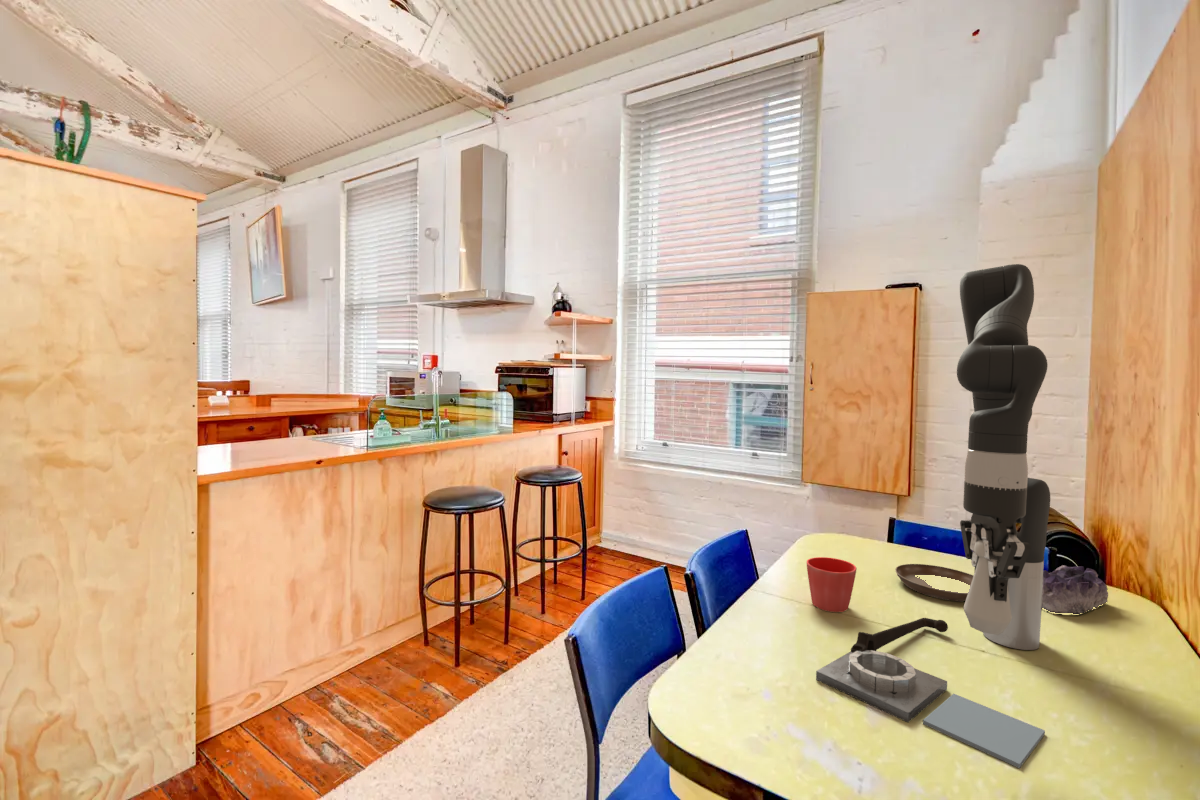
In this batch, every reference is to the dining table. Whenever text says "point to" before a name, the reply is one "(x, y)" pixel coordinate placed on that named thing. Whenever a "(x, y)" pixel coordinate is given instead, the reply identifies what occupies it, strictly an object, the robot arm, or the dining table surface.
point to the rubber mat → (985, 729)
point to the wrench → (894, 634)
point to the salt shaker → (985, 599)
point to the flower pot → (831, 583)
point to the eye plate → (883, 682)
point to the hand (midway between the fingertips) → (989, 597)
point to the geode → (1072, 590)
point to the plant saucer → (919, 585)
